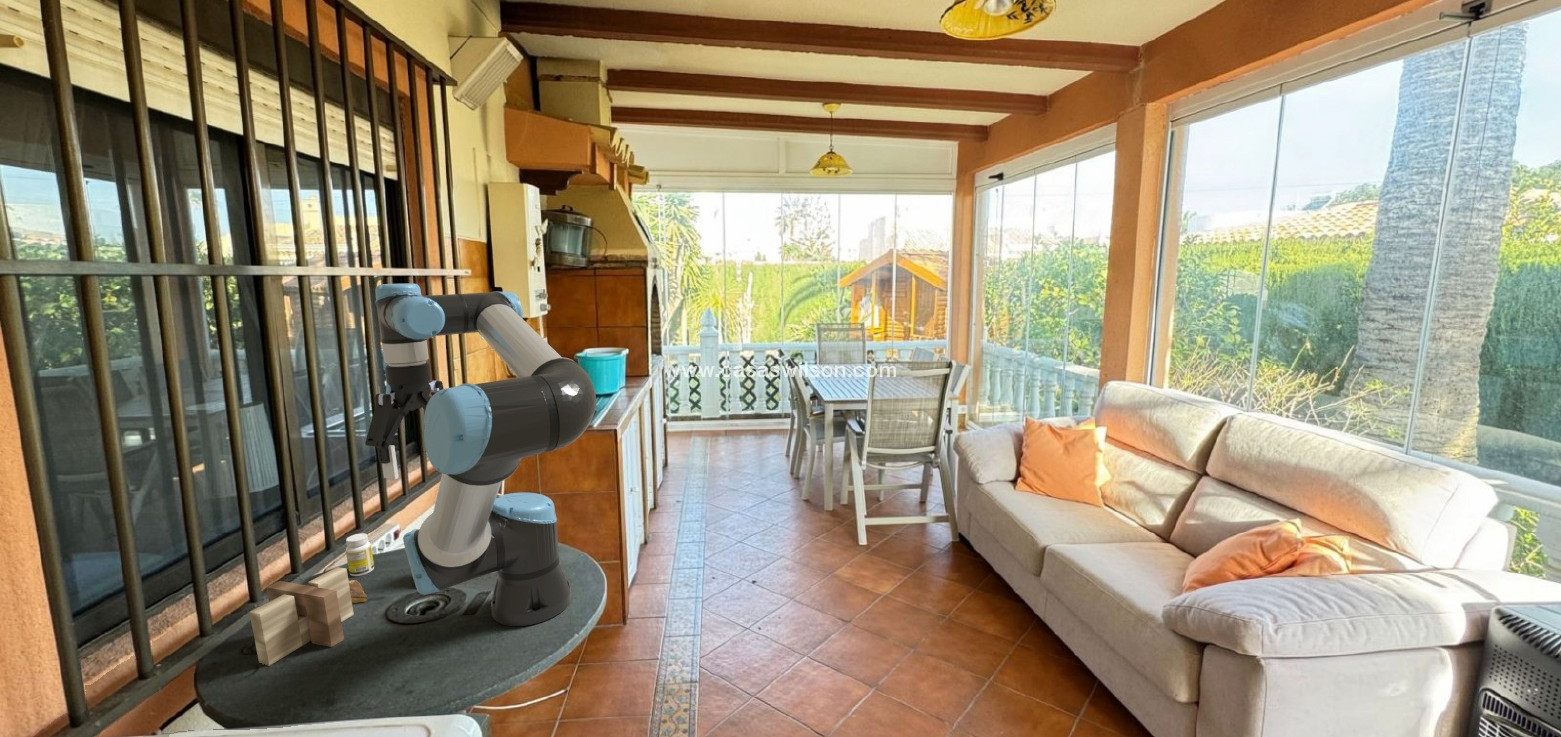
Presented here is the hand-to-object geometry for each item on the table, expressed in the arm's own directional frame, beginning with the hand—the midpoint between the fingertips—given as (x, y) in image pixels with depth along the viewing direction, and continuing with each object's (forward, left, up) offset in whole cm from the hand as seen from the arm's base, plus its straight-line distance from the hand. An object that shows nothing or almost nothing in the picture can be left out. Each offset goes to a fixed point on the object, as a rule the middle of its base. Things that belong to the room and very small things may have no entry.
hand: (420, 466), depth 124 cm
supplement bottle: (+25, -4, -29) cm, 38 cm away
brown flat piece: (+19, +4, -29) cm, 35 cm away
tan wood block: (+12, +18, -29) cm, 36 cm away
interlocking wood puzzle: (+12, +18, -29) cm, 36 cm away
